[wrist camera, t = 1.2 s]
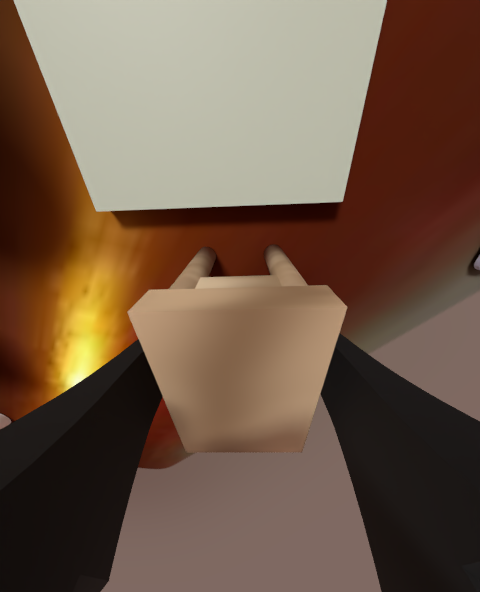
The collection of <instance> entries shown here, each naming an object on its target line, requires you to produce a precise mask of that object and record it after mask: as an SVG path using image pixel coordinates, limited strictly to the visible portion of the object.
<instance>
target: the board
mask: <svg viewBox="0 0 480 592" xmlns="http://www.w3.org/2000/svg"><path fill="white" fill-rule="evenodd" d="M386 2H387V0H14V3H15V5H16V8H17V10H18V13H19V15H20V18H21V21H22V23H23V26H24V28H25V31H26V33H27V36H28V38H29V41H30V44H31V46H32V49H33V51H34V54H35V56H36V59H37V61H38V64H39V66H40V69H41V72H42V74H43V77H44V79H45V82H46V84H47V87H48V89H49V92H50V94H51V97H52V100H53V102H54V105H55V107H56V110H57V112H58V115H59V117H60V120H61V123H62V125H63V128H64V130H65V133H66V135H67V138H68V140H69V143H70V145H71V148H72V151H73V153H74V156H75V158H76V161H77V163H78V166H79V168H80V171H81V174H82V176H83V179H84V181H85V184H86V186H87V189H88V191H89V194H90V196H91V199H92V202H93V204H94V207H95V209H96V211H122V210H147V209H173V208H199V207H224V206H250V205H275V204H301V203H326V202H343V198H344V193H345V189H346V184H347V180H348V175H349V171H350V166H351V161H352V157H353V152H354V148H355V143H356V139H357V134H358V130H359V125H360V121H361V116H362V111H363V107H364V102H365V98H366V93H367V89H368V84H369V80H370V75H371V70H372V66H373V61H374V57H375V52H376V48H377V43H378V39H379V34H380V30H381V25H382V20H383V16H384V11H385V7H386Z"/></svg>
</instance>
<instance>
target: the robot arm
mask: <svg viewBox="0 0 480 592" xmlns="http://www.w3.org/2000/svg"><path fill="white" fill-rule="evenodd" d="M474 268H475V269H477V270H480V255H479V256H478V258H477V260H476V261H475V263H474ZM320 394H321V396H322V398H323V400H324V403H325V405H326V408H327V410H328V412H329V415H330V417H331V420H332V422H333V425H334V427H335V430H336V433H337V436H338V440H339V442H340V445H341V449H342V451H343V455H344V458H345V461H346V464H347V468H348V471H349V474H350V477H351V481H352V483H353V487H354V491H355V494H356V498H357V501H358V505H359V508H360V512H361V515H362V518H363V522H364V525H365V529H366V533H367V537H368V541H369V544H370V548H371V551H372V556H373V559H374V563H375V567H376V571H377V575H378V579H379V583H380V587H381V591H382V592H480V421H478V420H476V419H474V418H472V417H470V416H468V415H466V414H465V413H463V412H461V411H459V410H457V409H456V408H454V407H452V406H450V405H448V404H446V403H445V402H443V401H441V400H439V399H437V398H436V397H434V396H432V395H430V394H429V393H427V392H425V391H424V390H422V389H420V388H419V387H417V386H415V385H414V384H412V383H410V382H409V381H407V380H406V379H404V378H402V377H401V376H399V375H397V374H396V373H394V372H393V371H391V370H390V369H388V368H387V367H385V366H384V365H382V364H381V363H380V362H378V361H377V360H375V359H374V358H372V357H371V356H370V355H368V354H367V353H365V352H364V351H363V350H361V349H360V348H359V347H357V346H356V345H355V344H353V343H352V342H351V341H349V340H348V339H347V338H345V337H344V336H343V335H341V334H340V333H339V335H338V339H337V342H336V345H335V348H334V351H333V355H332V358H331V361H330V364H329V368H328V371H327V374H326V377H325V380H324V384H323V387H322V390H321V393H320ZM161 399H162V393H161V391H160V389H159V386H158V384H157V381H156V379H155V377H154V374H153V372H152V370H151V367H150V365H149V362H148V360H147V358H146V355H145V353H144V351H143V348H142V346H141V343H140V341H139V339H138V340H137V341H135V342H134V343H133V344H132V345H130V346H129V347H128V348H126V349H125V350H124V351H123V352H121V353H120V354H119V355H117V356H116V357H115V358H113V359H112V360H111V361H109V362H108V363H106V364H105V365H104V366H102V367H101V368H100V369H98V370H97V371H95V372H94V373H93V374H91V375H90V376H88V377H87V378H85V379H84V380H82V381H81V382H79V383H78V384H76V385H75V386H73V387H72V388H70V389H68V390H67V391H65V392H64V393H62V394H61V395H59V396H57V397H56V398H54V399H52V400H51V401H49V402H47V403H46V404H44V405H42V406H40V407H39V408H37V409H35V410H34V411H32V412H30V413H28V414H27V415H25V416H23V417H22V418H20V419H18V420H16V421H15V422H13V423H11V424H9V425H7V426H6V427H4V428H2V429H0V592H100V591H101V590H102V589H103V587H104V586H105V585H106V584H107V582H108V581H109V576H110V572H111V568H112V564H113V560H114V556H115V552H116V547H117V543H118V539H119V535H120V531H121V527H122V522H123V519H124V515H125V511H126V508H127V504H128V500H129V496H130V493H131V489H132V485H133V482H134V478H135V475H136V471H137V468H138V465H139V461H140V458H141V454H142V451H143V448H144V445H145V442H146V438H147V435H148V432H149V429H150V426H151V424H152V421H153V418H154V416H155V413H156V411H157V408H158V406H159V404H160V401H161Z"/></svg>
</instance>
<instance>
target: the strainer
mask: <svg viewBox="0 0 480 592" xmlns="http://www.w3.org/2000/svg"><path fill="white" fill-rule="evenodd" d="M10 423H11V420H10V419H9V418H8V417H7V416H5V415H3V414H0V429H2V428H4V427H6V426H7V425H9V424H10Z"/></svg>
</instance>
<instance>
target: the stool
mask: <svg viewBox="0 0 480 592" xmlns="http://www.w3.org/2000/svg"><path fill="white" fill-rule="evenodd" d="M264 258H265V260H266V263H267V266H268V269H269V272H270V274H271V275H268V276H233V277H209V274H210V272H211V269H212V267H213V265H214V262H215V260H216V253H215V251H214V250H213V249H212V248H210V247H203V248H201V249H200V250H199V252H198V253H197V254H196V255H195V257H194V258H193V259H192V261H191V262H190V263H189V264H188V266H187V267H186V268H185V269H184V271H183V272H182V273H181V275H180V276H179V277H178V278H177V280H176V281H175V282H174V283H173V285H172V286H171V287H170V289H165V290H149V291H148V292H147V293H146V294H145V295H144V296H143V297H142V298H141V299H140V300H139V301H138V302H137V303H136V304H135V305H134V306H133V307H132V308H131V309H130V310H129V311H128V315H129V317H130V320H131V322H132V324H133V327H134V329H135V332H136V334H137V336H138V339H139V341H140V343H141V346H142V348H143V351H144V353H145V355H146V358H147V360H148V362H149V365H150V367H151V370H152V372H153V374H154V377H155V379H156V381H157V384H158V386H159V389H160V391H161V393H162V396H163V398H164V400H165V403H166V405H167V408H168V410H169V412H170V415H171V417H172V419H173V422H174V424H175V427H176V429H177V431H178V434H179V436H180V438H181V441H182V443H183V446H184V448H185V450H186V452H302V451H303V448H304V444H305V441H306V438H307V435H308V432H309V428H310V425H311V422H312V419H313V416H314V412H315V409H316V406H317V403H318V399H319V396H320V393H321V390H322V387H323V384H324V380H325V377H326V374H327V371H328V368H329V364H330V361H331V358H332V355H333V351H334V348H335V345H336V342H337V339H338V335H339V332H340V329H341V326H342V323H343V319H344V316H345V313H346V310H347V306H346V305H345V304H344V303H343V302H342V301H341V300H340V299H339V298H338V297H337V296H336V295H335V293H334V292H333V291H332V290H331V289H330V288H329V287H328V286H327V285H317V286H308V285H307V283H306V282H305V281H304V279H303V278H302V277H301V275H300V274H299V272H298V271H297V270H296V268H295V267H294V266H293V264H292V263H291V261H290V260H289V259H288V257H287V256H286V255H285V253H284V252H283V251H282V249H281V248H280V247H279V246H278V245H270V246H268V247H267V248H266V249H265V251H264Z"/></svg>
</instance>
